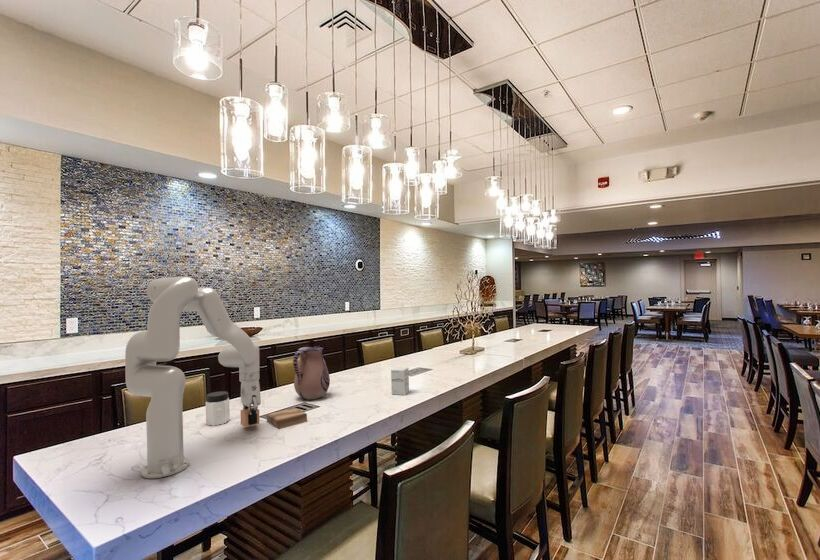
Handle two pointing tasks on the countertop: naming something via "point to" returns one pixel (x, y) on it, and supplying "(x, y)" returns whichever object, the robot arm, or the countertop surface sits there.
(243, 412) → the cube
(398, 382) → the supplement box
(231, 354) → the robot arm
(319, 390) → the ceramic pitcher
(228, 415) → the jar
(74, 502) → the countertop surface
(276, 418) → the block
